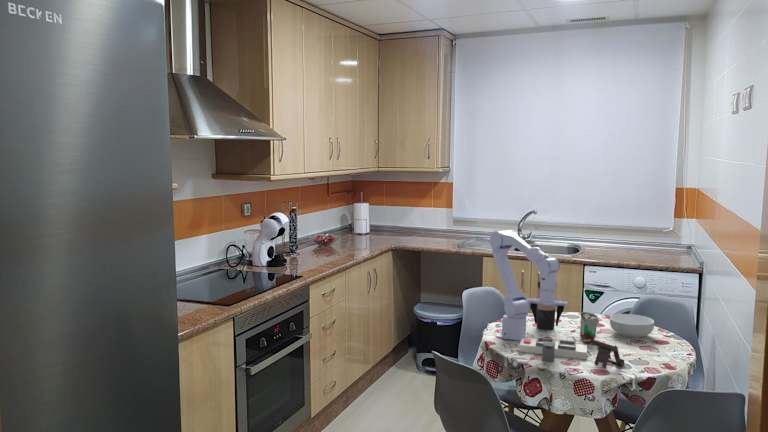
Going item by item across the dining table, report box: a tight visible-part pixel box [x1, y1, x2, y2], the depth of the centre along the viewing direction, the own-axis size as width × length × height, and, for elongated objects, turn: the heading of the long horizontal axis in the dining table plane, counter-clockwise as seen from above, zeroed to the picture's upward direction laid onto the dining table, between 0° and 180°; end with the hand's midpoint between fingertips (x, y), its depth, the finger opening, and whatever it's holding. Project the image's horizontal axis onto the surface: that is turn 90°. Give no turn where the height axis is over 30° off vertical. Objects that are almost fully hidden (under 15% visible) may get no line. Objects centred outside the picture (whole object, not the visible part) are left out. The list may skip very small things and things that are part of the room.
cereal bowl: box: [609, 313, 655, 339], centre depth 245 cm, size 17×17×7 cm
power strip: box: [518, 336, 588, 360], centre depth 224 cm, size 24×9×4 cm, turn 71°
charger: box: [541, 341, 556, 363], centre depth 215 cm, size 4×5×6 cm
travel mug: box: [536, 281, 557, 331], centre depth 253 cm, size 8×8×20 cm
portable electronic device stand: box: [592, 338, 625, 369], centre depth 211 cm, size 9×8×8 cm
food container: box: [579, 311, 600, 345], centre depth 238 cm, size 12×6×10 cm, turn 169°
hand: (546, 324), depth 227 cm, fingers open, 7 cm apart
